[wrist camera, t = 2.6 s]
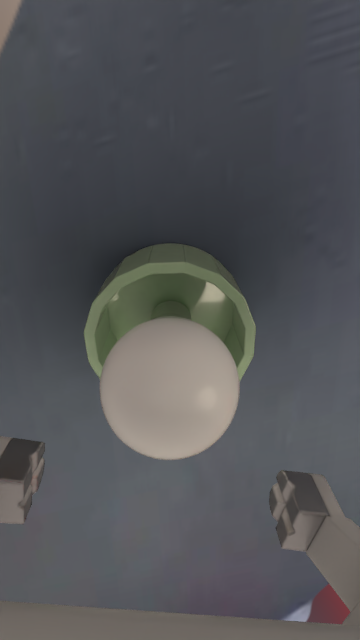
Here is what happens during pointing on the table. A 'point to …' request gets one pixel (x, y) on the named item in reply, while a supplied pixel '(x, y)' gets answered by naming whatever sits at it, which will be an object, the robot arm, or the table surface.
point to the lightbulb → (169, 385)
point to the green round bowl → (170, 285)
